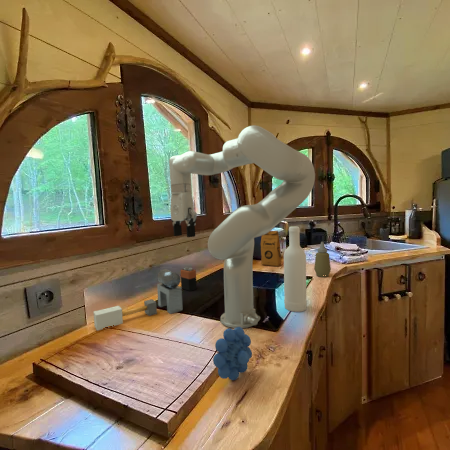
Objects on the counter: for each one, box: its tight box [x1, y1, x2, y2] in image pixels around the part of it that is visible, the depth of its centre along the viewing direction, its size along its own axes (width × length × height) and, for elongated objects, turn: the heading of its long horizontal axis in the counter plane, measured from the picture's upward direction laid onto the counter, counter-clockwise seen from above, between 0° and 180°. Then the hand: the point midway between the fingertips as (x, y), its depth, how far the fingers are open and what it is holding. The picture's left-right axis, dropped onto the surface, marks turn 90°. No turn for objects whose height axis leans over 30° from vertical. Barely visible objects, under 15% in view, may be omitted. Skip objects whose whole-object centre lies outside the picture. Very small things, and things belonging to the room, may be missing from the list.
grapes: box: [212, 327, 253, 381], centre depth 57 cm, size 12×7×12 cm, turn 136°
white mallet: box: [93, 299, 158, 331], centre depth 92 cm, size 4×20×5 cm, turn 127°
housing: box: [156, 268, 183, 315], centre depth 101 cm, size 11×6×14 cm, turn 37°
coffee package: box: [260, 230, 282, 267], centre depth 167 cm, size 10×12×22 cm
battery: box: [180, 266, 198, 292], centre depth 124 cm, size 4×7×10 cm, turn 45°
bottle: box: [283, 225, 308, 313], centre depth 96 cm, size 8×8×30 cm
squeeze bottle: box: [313, 241, 332, 278], centre depth 138 cm, size 8×8×18 cm
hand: (184, 236), depth 98 cm, fingers open, 9 cm apart
